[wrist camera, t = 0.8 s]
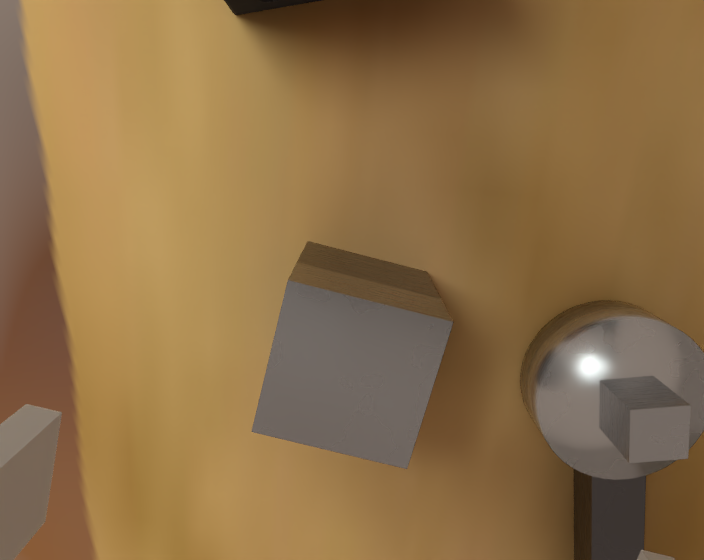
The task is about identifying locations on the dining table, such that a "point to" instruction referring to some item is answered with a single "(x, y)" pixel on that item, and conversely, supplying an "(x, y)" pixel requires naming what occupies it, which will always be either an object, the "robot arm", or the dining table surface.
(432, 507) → the dining table surface
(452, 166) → the dining table surface
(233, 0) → the ammunition clip
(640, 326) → the metal ladle
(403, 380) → the grey rectangular block
